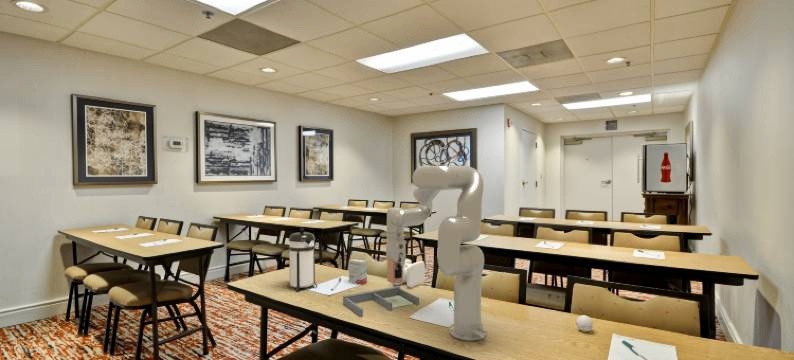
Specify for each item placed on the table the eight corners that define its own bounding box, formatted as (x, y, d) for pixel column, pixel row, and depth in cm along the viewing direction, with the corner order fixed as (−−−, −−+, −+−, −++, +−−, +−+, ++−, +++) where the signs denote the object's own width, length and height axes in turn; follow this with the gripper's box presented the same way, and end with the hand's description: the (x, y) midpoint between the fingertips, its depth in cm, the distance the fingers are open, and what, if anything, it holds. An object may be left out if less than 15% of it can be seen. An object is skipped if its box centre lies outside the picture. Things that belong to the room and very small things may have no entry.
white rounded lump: (578, 326, 144) (578, 311, 144) (594, 330, 140) (595, 315, 140) (572, 333, 138) (572, 317, 138) (589, 337, 134) (589, 321, 134)
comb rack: (419, 304, 168) (419, 296, 168) (360, 316, 154) (360, 308, 154) (398, 293, 184) (398, 286, 184) (343, 303, 170) (343, 295, 170)
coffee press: (322, 283, 201) (321, 225, 200) (311, 292, 185) (310, 230, 185) (290, 281, 204) (290, 225, 203) (276, 291, 188) (276, 229, 187)
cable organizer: (408, 290, 189) (408, 266, 189) (391, 286, 196) (391, 263, 195) (425, 283, 201) (425, 260, 201) (408, 279, 208) (408, 258, 207)
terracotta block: (402, 282, 171) (402, 259, 170) (392, 283, 168) (392, 260, 168) (396, 279, 175) (397, 257, 175) (387, 280, 173) (387, 258, 172)
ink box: (367, 282, 201) (367, 260, 201) (361, 285, 197) (361, 262, 197) (354, 280, 206) (354, 258, 206) (348, 282, 202) (348, 260, 202)
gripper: (412, 238, 165) (412, 280, 166) (393, 232, 180) (392, 270, 181) (397, 239, 162) (397, 282, 162) (378, 233, 176) (378, 272, 177)
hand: (394, 276), depth 172 cm, fingers closed on terracotta block, 5 cm apart
